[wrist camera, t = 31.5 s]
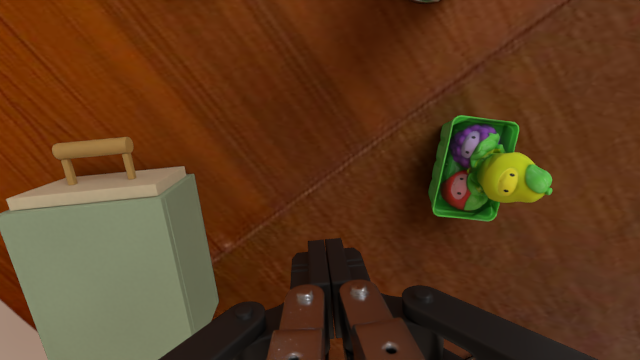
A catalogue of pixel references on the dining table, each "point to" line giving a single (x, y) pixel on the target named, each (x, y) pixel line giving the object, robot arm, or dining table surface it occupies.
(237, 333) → the robot arm
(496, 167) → the fruit basket
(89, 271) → the cabinet
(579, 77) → the dining table surface
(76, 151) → the drawer
